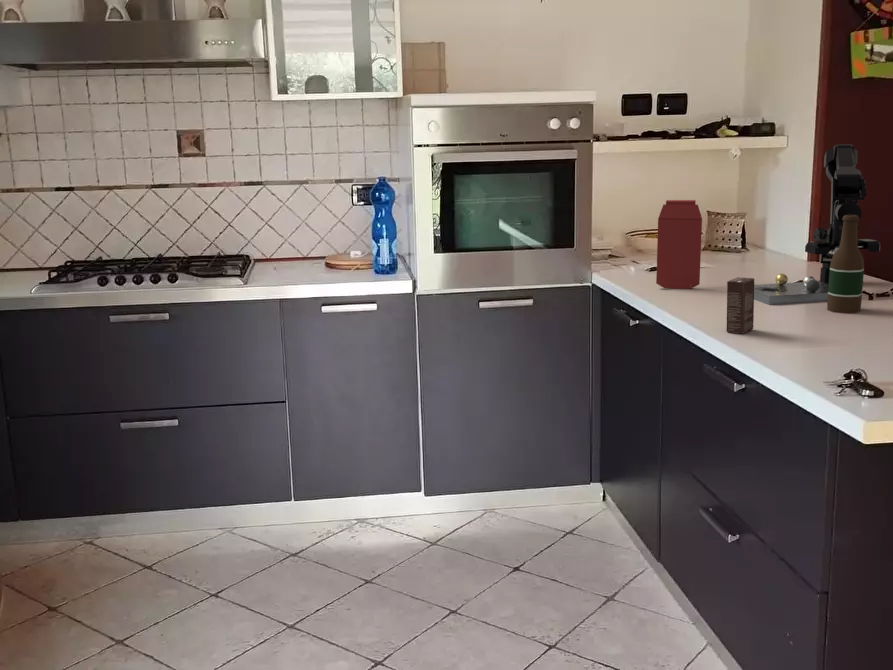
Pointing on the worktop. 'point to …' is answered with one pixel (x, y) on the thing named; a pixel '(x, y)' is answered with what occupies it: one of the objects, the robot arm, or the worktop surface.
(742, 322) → the box
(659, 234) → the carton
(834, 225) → the robot arm
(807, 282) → the steel ball
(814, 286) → the black ball
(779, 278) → the brass ball
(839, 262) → the beer bottle
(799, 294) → the plate
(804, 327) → the worktop surface
